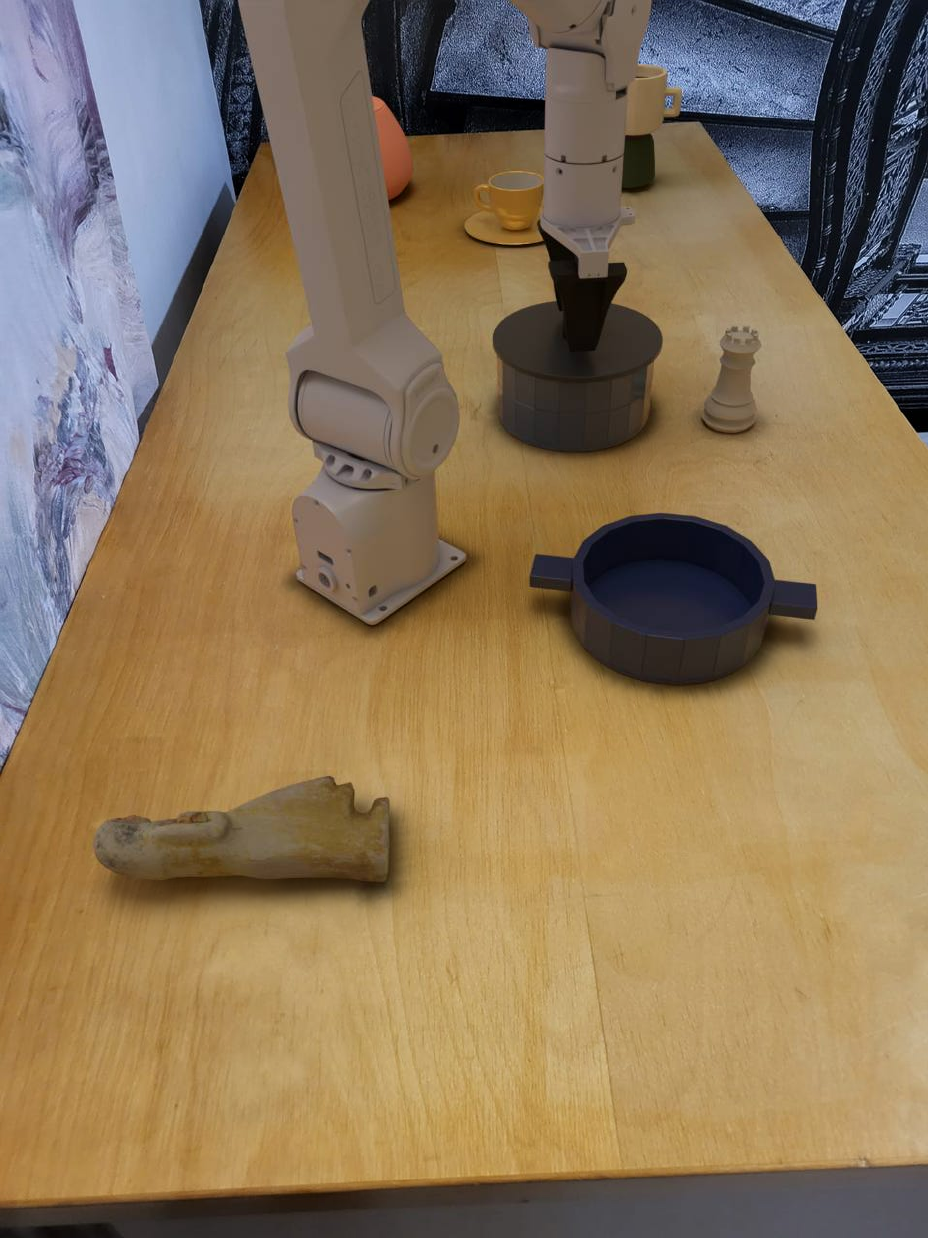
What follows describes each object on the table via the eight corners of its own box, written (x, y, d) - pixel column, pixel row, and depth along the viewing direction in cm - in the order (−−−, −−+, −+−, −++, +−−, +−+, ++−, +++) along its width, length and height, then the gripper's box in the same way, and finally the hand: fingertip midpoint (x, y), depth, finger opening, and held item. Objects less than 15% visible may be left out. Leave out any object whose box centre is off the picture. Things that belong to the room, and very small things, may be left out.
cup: (574, 212, 121) (576, 165, 118) (556, 250, 113) (557, 201, 109) (478, 206, 124) (476, 160, 120) (453, 244, 115) (451, 195, 112)
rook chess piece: (716, 402, 87) (730, 314, 82) (764, 417, 85) (781, 328, 79) (690, 423, 84) (702, 335, 79) (739, 440, 82) (754, 350, 77)
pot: (586, 470, 80) (591, 397, 76) (467, 417, 86) (465, 347, 82) (677, 406, 87) (685, 335, 82) (560, 361, 93) (562, 294, 89)
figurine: (389, 764, 55) (104, 762, 53) (394, 810, 50) (79, 810, 48) (385, 848, 56) (107, 850, 54) (390, 902, 51) (84, 906, 49)
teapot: (300, 166, 137) (286, 66, 129) (410, 159, 138) (403, 59, 130) (294, 225, 121) (278, 115, 113) (419, 217, 122) (412, 107, 113)
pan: (810, 703, 60) (823, 656, 58) (515, 665, 64) (515, 619, 61) (804, 572, 69) (815, 527, 67) (546, 545, 73) (547, 500, 70)
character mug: (672, 174, 130) (683, 62, 121) (673, 194, 125) (685, 78, 116) (587, 174, 131) (592, 63, 122) (585, 193, 126) (590, 78, 117)
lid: (654, 396, 76) (660, 340, 73) (477, 382, 79) (475, 327, 76) (667, 316, 86) (672, 264, 83) (509, 306, 89) (509, 255, 86)
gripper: (658, 183, 67) (641, 368, 76) (623, 119, 78) (611, 288, 87) (552, 188, 67) (548, 373, 76) (532, 123, 78) (530, 292, 87)
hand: (576, 328), depth 81 cm, fingers open, 7 cm apart
